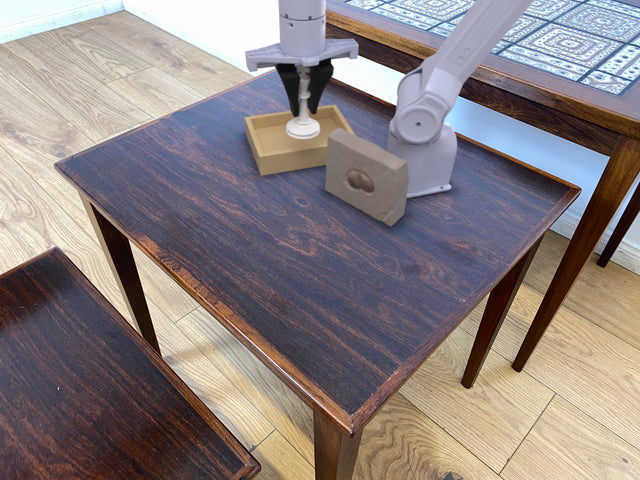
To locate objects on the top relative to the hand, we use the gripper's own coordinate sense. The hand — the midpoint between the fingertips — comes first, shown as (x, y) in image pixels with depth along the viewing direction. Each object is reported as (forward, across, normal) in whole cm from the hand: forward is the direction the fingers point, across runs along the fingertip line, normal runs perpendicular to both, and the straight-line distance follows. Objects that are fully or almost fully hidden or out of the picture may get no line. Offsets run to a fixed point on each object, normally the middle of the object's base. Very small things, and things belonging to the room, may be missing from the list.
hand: (303, 112), depth 70 cm
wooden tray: (+10, +1, +6) cm, 12 cm away
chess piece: (+3, 0, 0) cm, 3 cm away
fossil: (+10, +6, -10) cm, 15 cm away
